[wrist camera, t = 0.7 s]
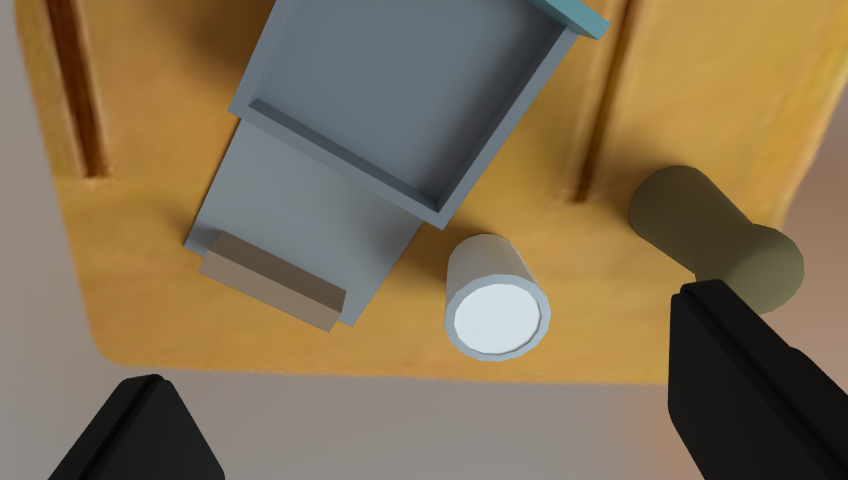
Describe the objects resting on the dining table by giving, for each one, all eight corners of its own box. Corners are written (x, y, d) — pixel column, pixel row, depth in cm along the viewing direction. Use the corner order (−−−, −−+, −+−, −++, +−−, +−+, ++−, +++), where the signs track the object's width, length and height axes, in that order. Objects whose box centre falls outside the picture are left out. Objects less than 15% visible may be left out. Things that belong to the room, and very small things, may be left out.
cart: (359, -134, 26) (337, -184, 19) (561, 15, 30) (611, 23, 22) (256, 92, 31) (206, 124, 24) (438, 197, 35) (445, 254, 27)
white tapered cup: (428, 293, 39) (431, 351, 33) (454, 216, 36) (463, 263, 30) (510, 312, 40) (528, 372, 34) (542, 238, 37) (568, 288, 31)
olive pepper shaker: (619, 240, 37) (692, 330, 27) (642, 162, 34) (733, 231, 25) (697, 245, 37) (797, 336, 28) (726, 169, 35) (848, 239, 25)
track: (368, -158, 26) (362, -175, 23) (573, -3, 30) (590, -1, 27) (184, 245, 37) (165, 267, 34) (352, 325, 40) (347, 351, 37)
